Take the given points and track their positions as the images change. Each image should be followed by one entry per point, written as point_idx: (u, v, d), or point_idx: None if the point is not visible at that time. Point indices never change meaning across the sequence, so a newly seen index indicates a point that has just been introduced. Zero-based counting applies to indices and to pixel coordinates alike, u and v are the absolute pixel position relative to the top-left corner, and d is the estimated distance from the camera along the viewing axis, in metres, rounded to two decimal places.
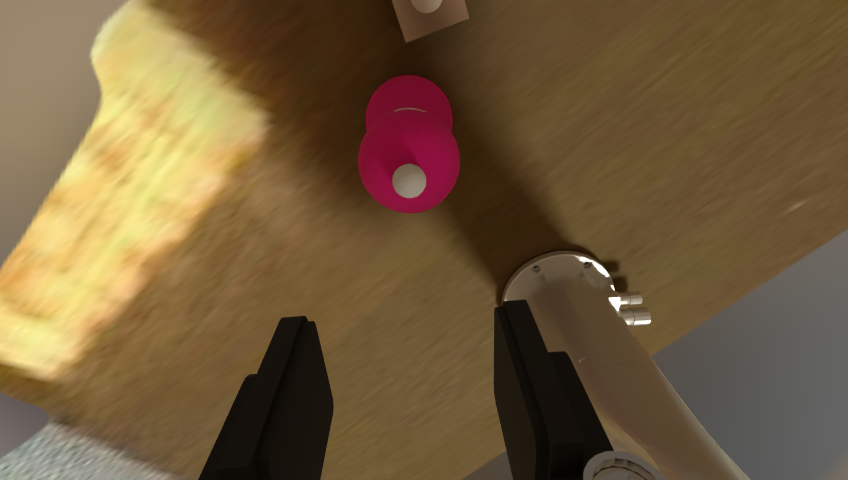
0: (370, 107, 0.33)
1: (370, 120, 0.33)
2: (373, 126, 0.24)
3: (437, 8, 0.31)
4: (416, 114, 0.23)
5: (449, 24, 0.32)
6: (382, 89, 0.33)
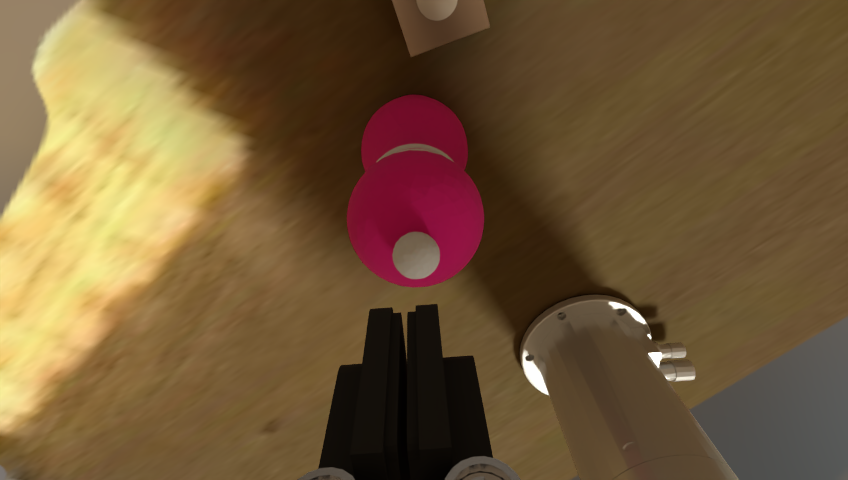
0: (367, 135, 0.27)
1: (366, 151, 0.27)
2: (367, 174, 0.18)
3: (450, 14, 0.25)
4: (426, 159, 0.17)
5: (465, 34, 0.26)
6: (381, 114, 0.27)
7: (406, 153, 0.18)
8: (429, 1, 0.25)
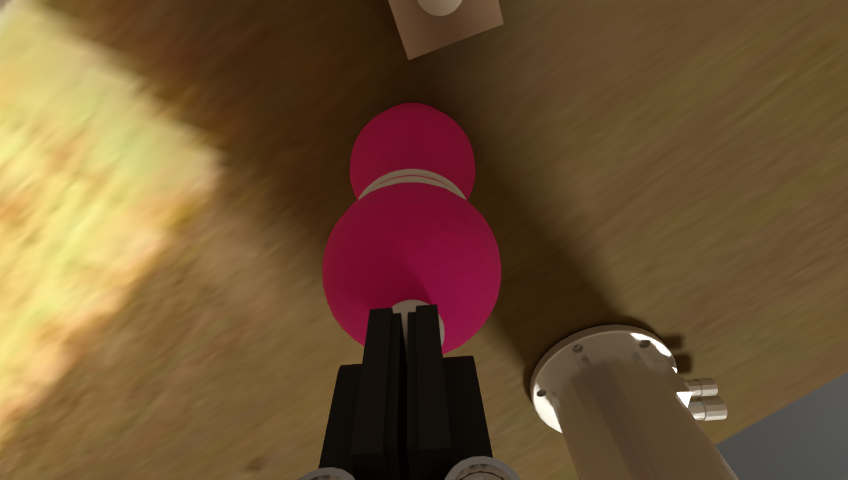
0: (355, 153, 0.23)
1: (355, 172, 0.22)
2: (347, 216, 0.13)
3: (456, 8, 0.21)
4: (426, 197, 0.13)
5: (473, 32, 0.21)
6: (372, 127, 0.22)
7: (399, 188, 0.13)
8: None
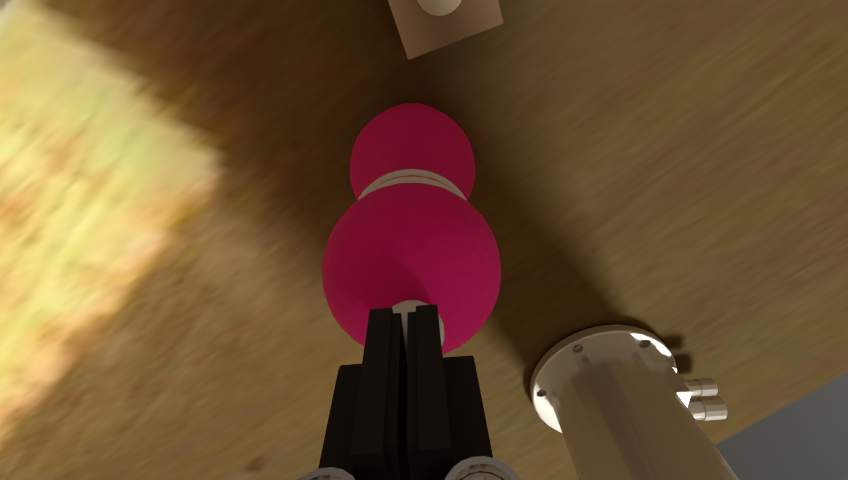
0: (355, 153, 0.23)
1: (355, 172, 0.22)
2: (347, 216, 0.13)
3: (455, 8, 0.21)
4: (426, 197, 0.13)
5: (473, 32, 0.21)
6: (372, 127, 0.22)
7: (399, 188, 0.13)
8: None
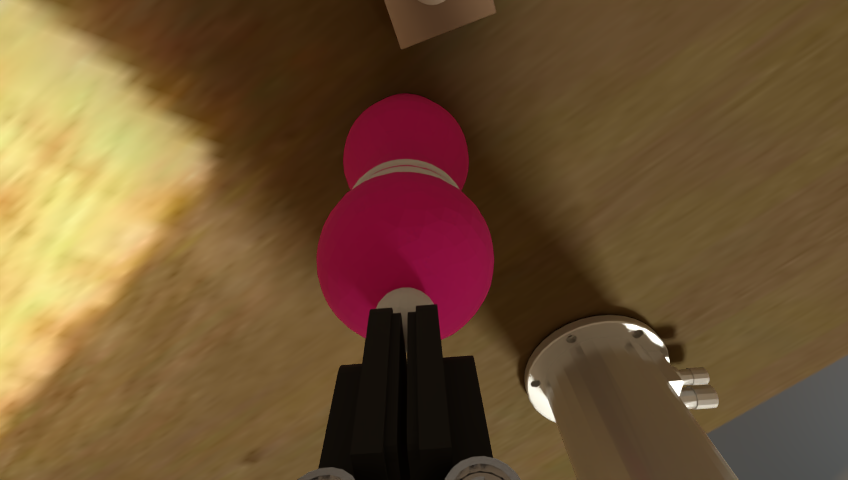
0: (349, 144, 0.23)
1: (348, 163, 0.23)
2: (341, 206, 0.13)
3: None
4: (419, 186, 0.13)
5: (466, 21, 0.21)
6: (366, 118, 0.22)
7: (393, 177, 0.13)
8: None
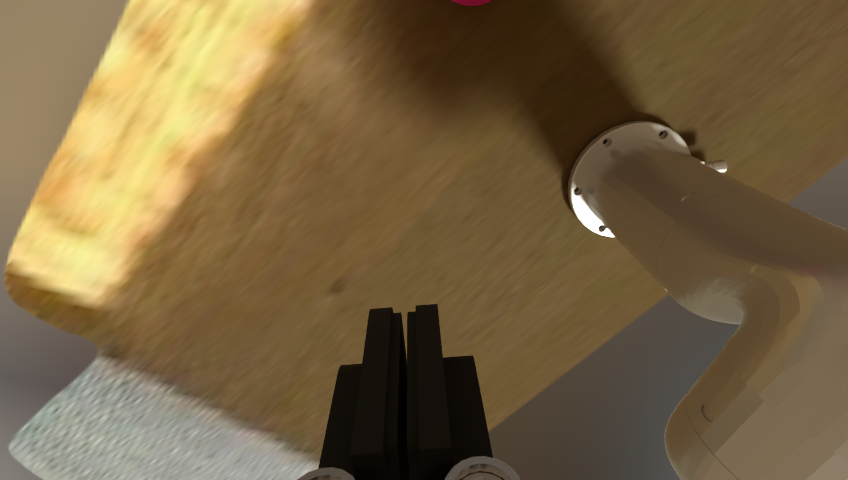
0: None
1: None
2: None
3: None
4: None
5: None
6: None
7: None
8: None
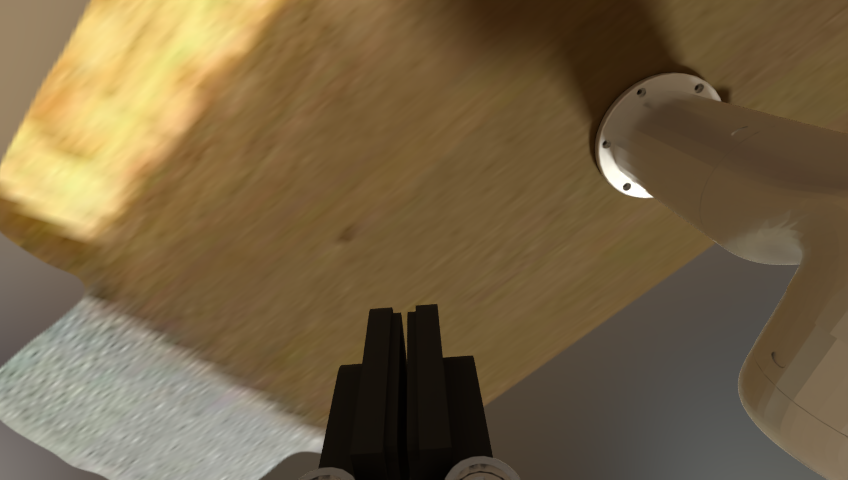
0: None
1: None
2: None
3: None
4: None
5: None
6: None
7: None
8: None
